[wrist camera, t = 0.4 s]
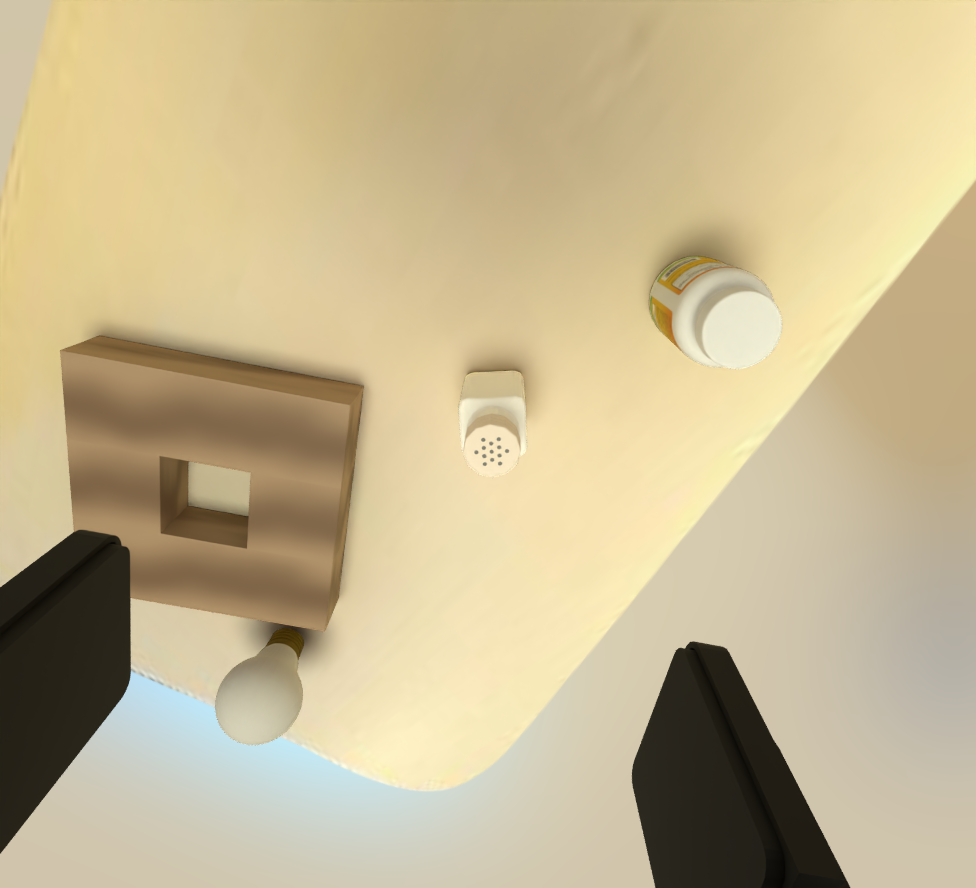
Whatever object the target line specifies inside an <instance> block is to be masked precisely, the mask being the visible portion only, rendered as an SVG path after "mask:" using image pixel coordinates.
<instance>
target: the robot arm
mask: <svg viewBox="0 0 976 888" xmlns="http://www.w3.org/2000/svg"><path fill="white" fill-rule="evenodd" d="M130 674H131V643H130V551H129V549H128V548H127V547H126V546H122V544H121V541H120V539H119V537H117V536H116V535H110V534H105V533H99V532H94V531H88V530H77V531H75V532H73V533H72V534H71V535H69V536H68V537H67V538H65V539H64V540H63V541H61V542H60V543H59V544H57V545H56V546H55V547H53V548H52V549H51V550H49V551H48V552H47V553H45V554H44V555H43V556H41V557H40V558H39V559H37V560H36V561H35V562H33V563H32V564H31V565H29V566H28V567H27V568H25V569H24V570H23V571H21V572H20V573H19V574H17V575H16V576H15V577H14V578H12V579H11V580H10V581H8V582H7V583H6V584H4V585H3V586H2V587H0V853H1V852H2V851H3V850H4V848H5V847H6V846H7V845H8V843H9V842H10V841H11V839H12V838H13V837H14V836H15V834H16V833H17V832H18V830H19V829H20V828H21V826H22V825H23V824H24V823H25V821H26V820H27V819H28V818H29V816H30V815H31V814H32V813H33V811H34V810H35V808H36V807H37V806H38V805H39V804H40V802H41V801H42V800H43V798H44V797H45V796H46V794H47V793H48V792H49V791H50V789H51V788H52V787H53V786H54V784H55V783H56V781H57V780H58V779H59V778H60V777H61V775H62V774H63V773H64V771H65V770H66V769H67V768H68V766H69V765H70V764H71V763H72V761H73V760H74V759H75V757H76V756H77V755H78V754H79V752H80V751H81V750H82V748H83V747H84V746H85V745H86V743H87V742H88V741H89V739H90V738H91V737H92V735H93V734H94V733H95V732H96V731H97V729H98V728H99V727H100V725H101V724H102V723H103V722H104V720H105V719H106V718H107V716H108V715H109V714H110V713H111V711H112V710H113V709H114V707H115V706H116V705H117V703H118V702H119V701H120V700H121V698H122V697H123V695H124V693H125V691H126V689H127V687H128V684H129V681H130ZM632 784H633V789H634V794H635V798H636V803H637V807H638V812H639V816H640V820H641V825H642V829H643V834H644V838H645V843H646V847H647V851H648V856H649V861H650V865H651V870H652V874H653V879H654V883H655V888H850V886H849V884H848V882H847V880H846V878H845V876H844V874H843V872H842V870H841V868H840V866H839V864H838V862H837V860H836V859H835V857H834V855H833V853H832V851H831V849H830V847H829V845H828V843H827V841H826V839H825V837H824V835H823V833H822V831H821V829H820V827H819V826H818V823H817V822H816V820H815V817H814V816H813V814H812V812H811V810H810V808H809V806H808V804H807V802H806V800H805V798H804V796H803V794H802V792H801V790H800V788H799V786H798V784H797V782H796V780H795V778H794V776H793V774H792V773H791V771H790V769H789V767H788V765H787V763H786V761H785V759H784V757H783V755H782V753H781V751H780V749H779V747H778V746H777V745H776V743H775V742H774V740H773V738H772V736H771V734H770V732H769V730H768V728H767V726H766V724H765V722H764V720H763V718H762V716H761V714H760V712H759V710H758V709H757V706H756V705H755V703H754V701H753V699H752V697H751V695H750V693H749V691H748V689H747V687H746V685H745V683H744V681H743V679H742V677H741V675H740V673H739V671H738V669H737V667H736V665H735V663H734V661H733V659H732V657H731V656H730V653H729V652H728V650H727V649H726V648H724V647H721V646H715V645H710V644H704V643H699V642H690V643H689V644H688V645H687V646H686V648H685V649H683V648H678V649H677V650H676V652H675V654H674V656H673V659H672V662H671V664H670V667H669V670H668V672H667V675H666V678H665V681H664V683H663V686H662V689H661V691H660V694H659V696H658V699H657V702H656V704H655V707H654V710H653V712H652V715H651V718H650V720H649V723H648V726H647V728H646V731H645V734H644V736H643V739H642V741H641V744H640V747H639V750H638V752H637V755H636V757H635V760H634V764H633V769H632Z"/></svg>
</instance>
